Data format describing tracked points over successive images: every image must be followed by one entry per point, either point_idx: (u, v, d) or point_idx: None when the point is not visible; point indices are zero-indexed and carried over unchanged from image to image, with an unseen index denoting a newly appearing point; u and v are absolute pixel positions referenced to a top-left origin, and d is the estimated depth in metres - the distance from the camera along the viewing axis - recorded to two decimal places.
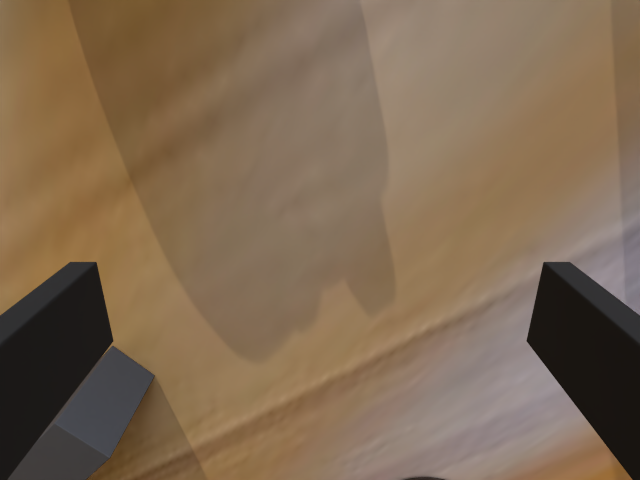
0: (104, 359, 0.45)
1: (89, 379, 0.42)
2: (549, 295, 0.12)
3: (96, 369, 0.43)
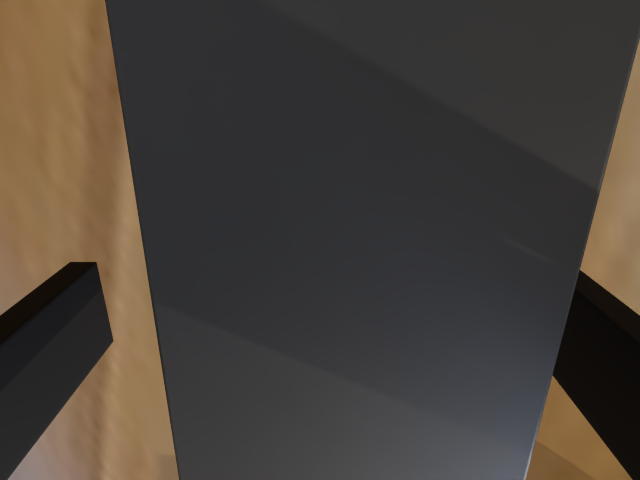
0: None
1: None
2: None
3: None
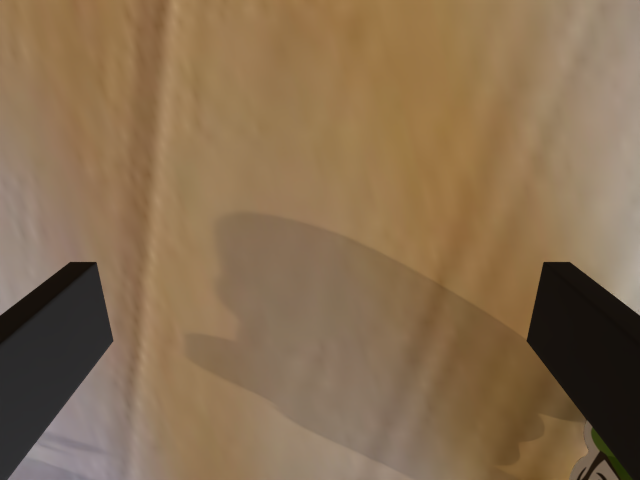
0: None
1: None
2: (549, 295, 0.12)
3: None
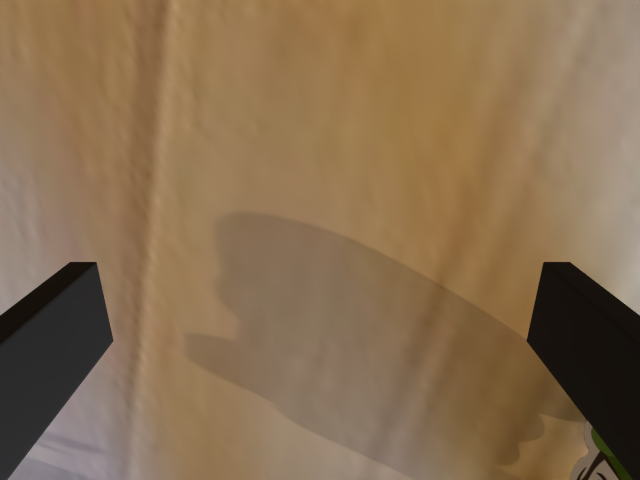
0: None
1: None
2: (549, 295, 0.12)
3: None
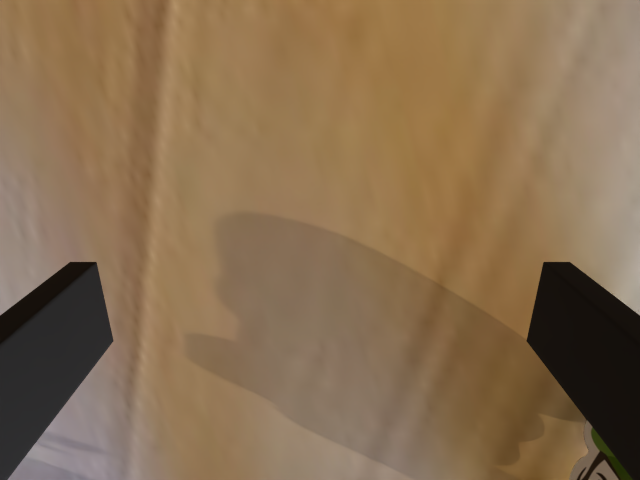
0: None
1: None
2: (549, 295, 0.12)
3: None
